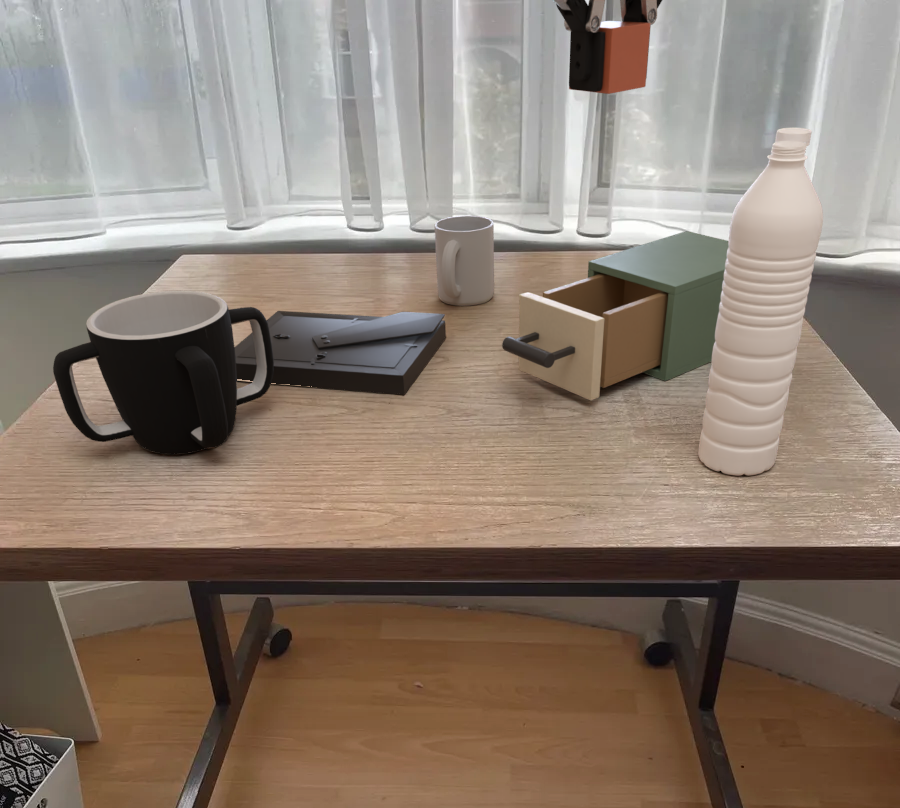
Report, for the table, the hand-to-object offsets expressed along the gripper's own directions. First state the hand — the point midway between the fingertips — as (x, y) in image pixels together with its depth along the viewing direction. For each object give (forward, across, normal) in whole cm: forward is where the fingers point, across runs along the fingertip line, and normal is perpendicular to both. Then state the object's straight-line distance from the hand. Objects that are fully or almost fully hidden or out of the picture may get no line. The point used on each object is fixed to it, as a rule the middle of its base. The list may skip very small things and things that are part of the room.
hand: (607, 83), depth 73 cm
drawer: (+26, +3, +3) cm, 27 cm away
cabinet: (+27, +16, +3) cm, 32 cm away
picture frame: (+27, -13, +26) cm, 40 cm away
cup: (+27, +10, +31) cm, 42 cm away
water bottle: (+28, +1, -17) cm, 32 cm away
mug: (+27, -34, +21) cm, 48 cm away
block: (0, 0, 0) cm, 0 cm away
